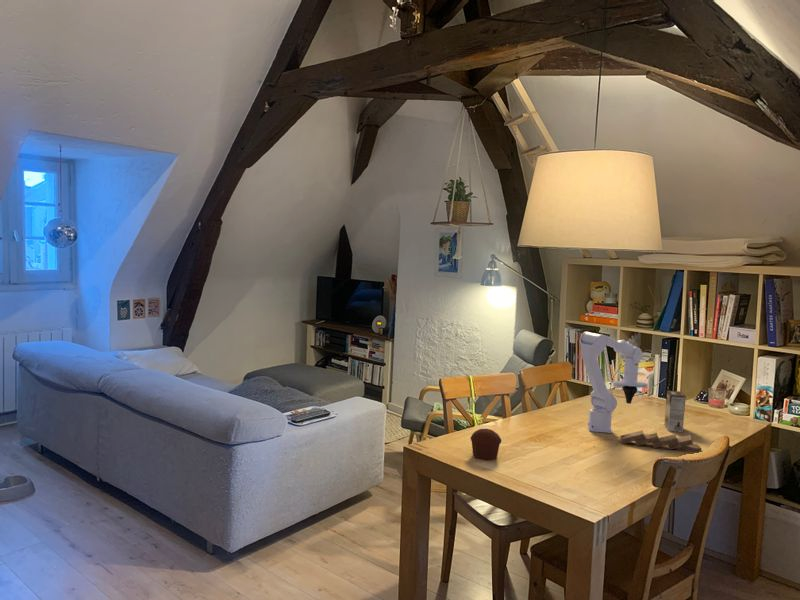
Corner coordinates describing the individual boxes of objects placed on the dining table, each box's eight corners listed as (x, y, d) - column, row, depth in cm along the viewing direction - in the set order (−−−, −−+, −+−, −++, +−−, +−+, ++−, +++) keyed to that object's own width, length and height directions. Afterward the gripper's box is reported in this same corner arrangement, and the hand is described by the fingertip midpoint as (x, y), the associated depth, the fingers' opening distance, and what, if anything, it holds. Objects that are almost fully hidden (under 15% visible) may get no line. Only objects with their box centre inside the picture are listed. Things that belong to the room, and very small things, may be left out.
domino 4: (667, 445, 251) (691, 439, 248) (667, 440, 256) (690, 434, 252) (669, 449, 251) (693, 444, 248) (668, 444, 256) (692, 439, 252)
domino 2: (634, 441, 255) (658, 436, 252) (633, 437, 259) (656, 432, 257) (636, 446, 255) (659, 441, 252) (635, 442, 259) (658, 437, 257)
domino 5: (677, 446, 251) (701, 448, 250) (673, 442, 256) (697, 444, 255) (677, 451, 252) (701, 453, 250) (673, 447, 256) (697, 449, 255)
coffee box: (663, 425, 286) (666, 390, 284) (678, 426, 285) (681, 391, 283) (667, 431, 277) (670, 394, 275) (683, 432, 276) (686, 396, 274)
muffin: (507, 458, 235) (508, 431, 234) (486, 464, 228) (487, 437, 227) (483, 449, 244) (485, 423, 243) (463, 454, 237) (464, 428, 236)
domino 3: (652, 443, 253) (675, 438, 249) (652, 439, 257) (675, 434, 254) (653, 448, 252) (677, 443, 249) (654, 444, 257) (677, 438, 254)
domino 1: (621, 439, 256) (643, 433, 254) (620, 435, 261) (642, 430, 259) (622, 444, 256) (645, 438, 254) (621, 440, 261) (643, 434, 259)
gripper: (617, 374, 276) (615, 404, 277) (650, 375, 276) (648, 406, 277) (612, 370, 283) (609, 400, 284) (644, 371, 283) (642, 401, 284)
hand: (628, 403), depth 281 cm, fingers closed
